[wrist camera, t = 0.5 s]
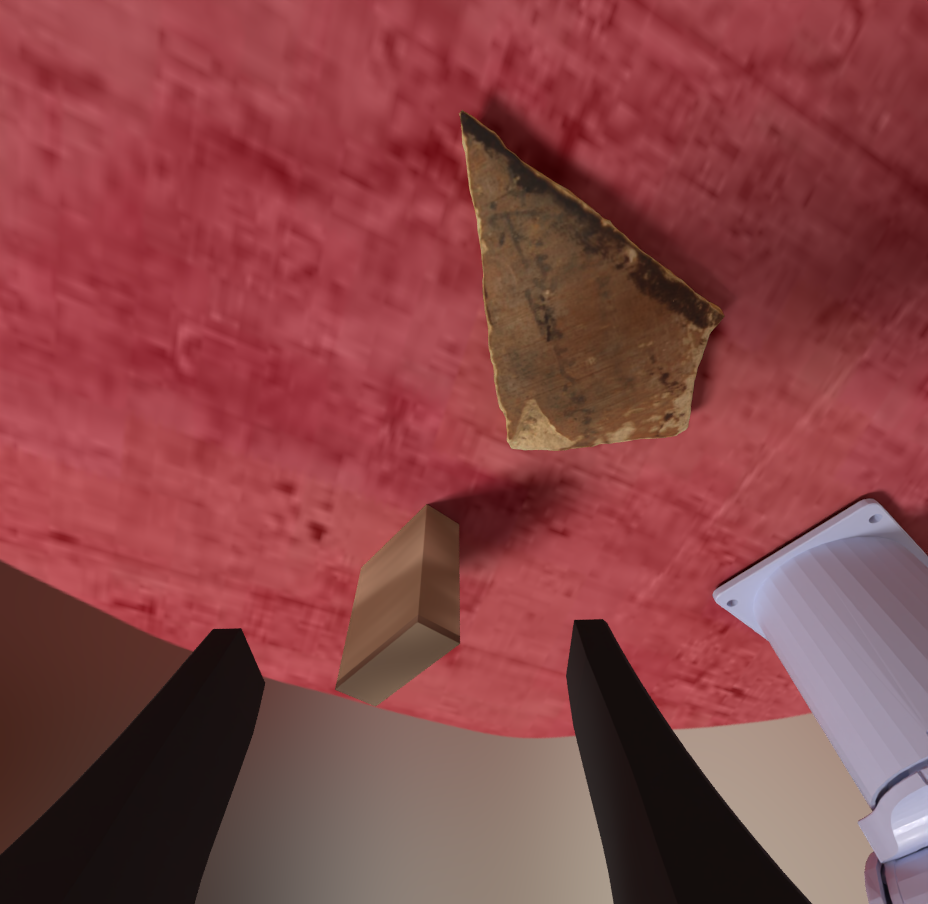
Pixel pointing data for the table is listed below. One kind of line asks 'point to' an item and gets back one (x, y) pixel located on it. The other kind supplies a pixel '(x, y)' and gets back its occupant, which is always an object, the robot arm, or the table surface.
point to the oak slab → (403, 609)
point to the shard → (577, 312)
